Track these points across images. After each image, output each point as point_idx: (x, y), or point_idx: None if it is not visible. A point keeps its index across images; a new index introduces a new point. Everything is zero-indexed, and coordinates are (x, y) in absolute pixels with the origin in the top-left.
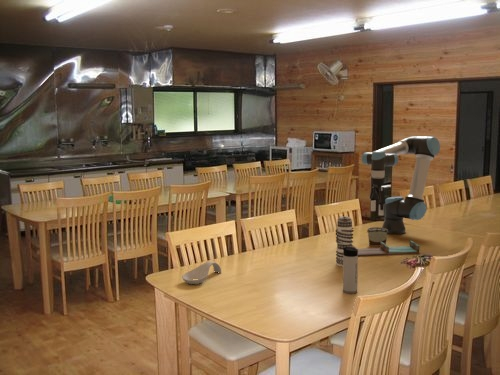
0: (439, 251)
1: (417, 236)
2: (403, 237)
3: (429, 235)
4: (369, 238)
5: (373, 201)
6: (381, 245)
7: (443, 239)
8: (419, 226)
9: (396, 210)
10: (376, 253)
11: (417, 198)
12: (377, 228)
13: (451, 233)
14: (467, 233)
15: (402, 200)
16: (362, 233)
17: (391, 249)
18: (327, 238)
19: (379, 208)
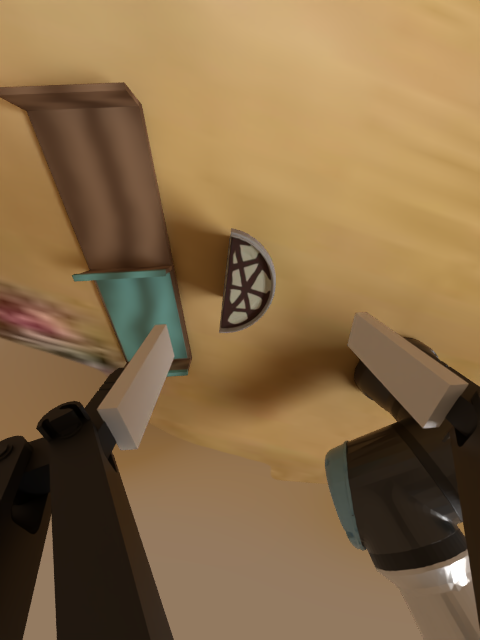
0: (160, 406)
1: (313, 403)
2: (314, 373)
3: (314, 426)
4: (230, 240)
5: (423, 395)
6: (154, 269)
7: (270, 438)
8: None
9: (417, 441)
10: (77, 222)
11: (384, 569)
12: (269, 299)
13: (316, 460)
14: (307, 478)
15: (457, 514)
16: (422, 265)
17: (140, 296)
18: (430, 11)
19: (128, 368)
